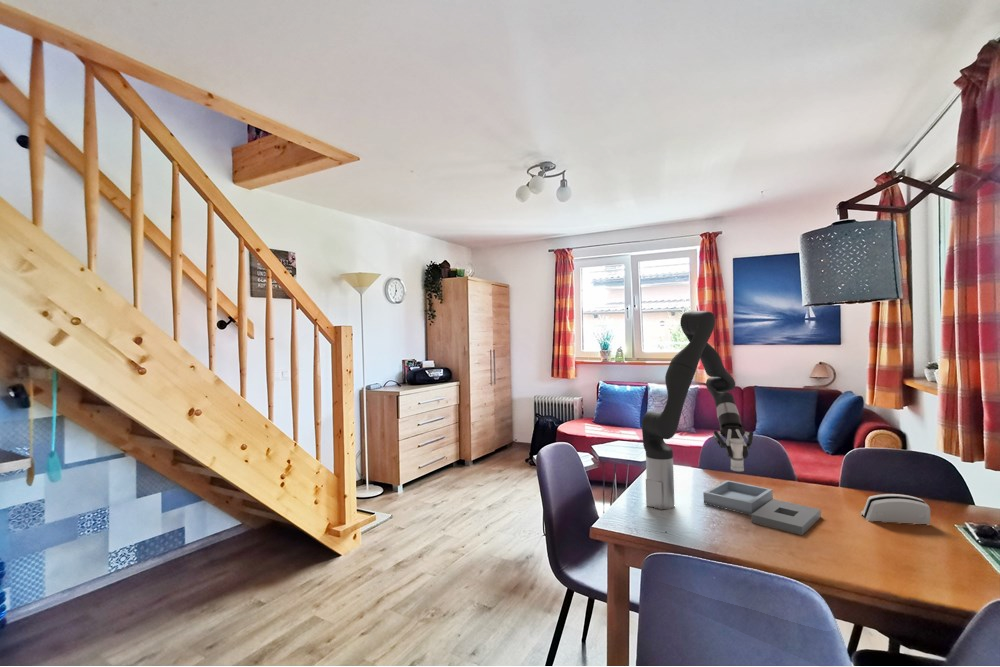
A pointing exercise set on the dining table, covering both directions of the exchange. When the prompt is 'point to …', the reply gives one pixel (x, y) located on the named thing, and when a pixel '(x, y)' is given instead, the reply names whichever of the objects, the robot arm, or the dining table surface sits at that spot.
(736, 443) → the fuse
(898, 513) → the grey grooved half-disc
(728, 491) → the parts tray
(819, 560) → the dining table surface
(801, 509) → the block
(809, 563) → the dining table surface
